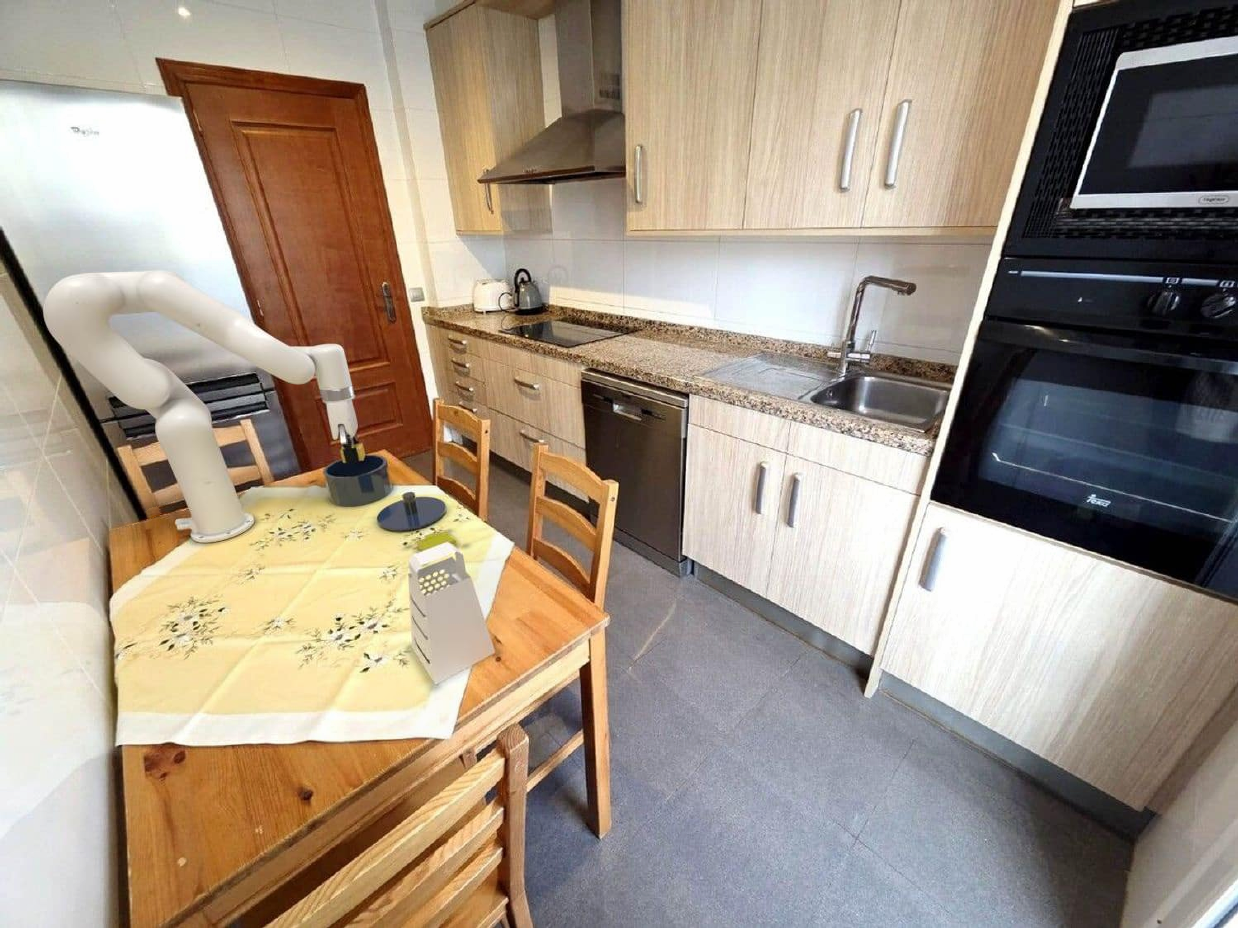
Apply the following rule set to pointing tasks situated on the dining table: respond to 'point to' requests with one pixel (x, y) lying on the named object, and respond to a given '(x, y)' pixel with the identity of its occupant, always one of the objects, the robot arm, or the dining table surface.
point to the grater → (446, 615)
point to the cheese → (359, 450)
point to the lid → (411, 512)
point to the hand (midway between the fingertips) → (353, 457)
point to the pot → (358, 481)
